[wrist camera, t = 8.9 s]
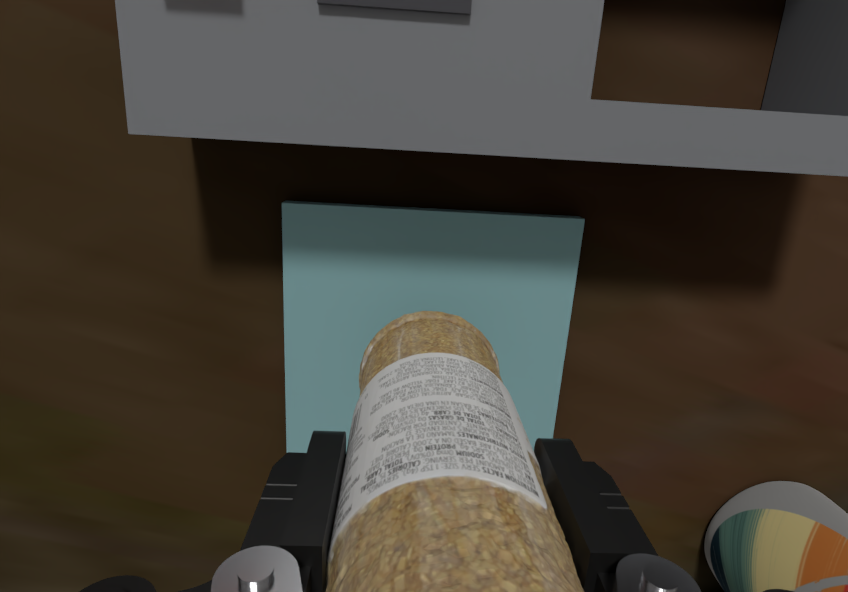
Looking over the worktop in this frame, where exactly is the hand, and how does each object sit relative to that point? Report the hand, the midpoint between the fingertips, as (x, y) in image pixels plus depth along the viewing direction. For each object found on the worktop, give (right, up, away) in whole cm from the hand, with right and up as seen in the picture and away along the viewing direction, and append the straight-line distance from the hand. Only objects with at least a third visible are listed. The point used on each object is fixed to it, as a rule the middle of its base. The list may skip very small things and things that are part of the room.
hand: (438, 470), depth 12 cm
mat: (0, +2, +7) cm, 8 cm away
